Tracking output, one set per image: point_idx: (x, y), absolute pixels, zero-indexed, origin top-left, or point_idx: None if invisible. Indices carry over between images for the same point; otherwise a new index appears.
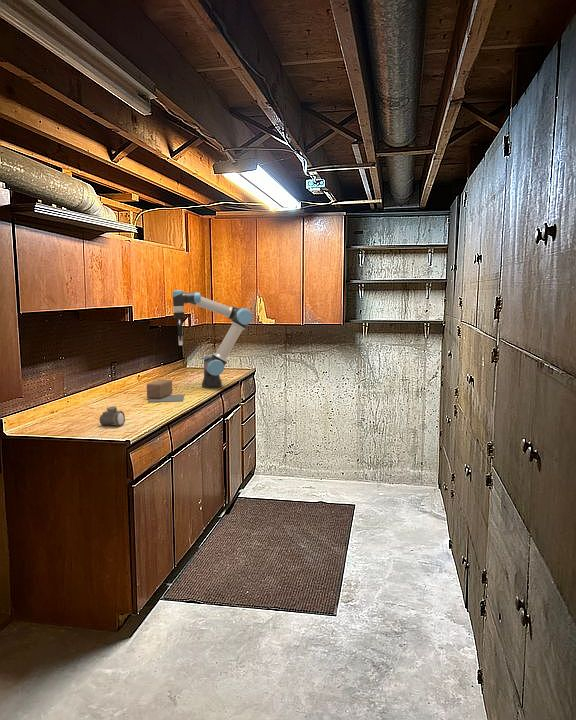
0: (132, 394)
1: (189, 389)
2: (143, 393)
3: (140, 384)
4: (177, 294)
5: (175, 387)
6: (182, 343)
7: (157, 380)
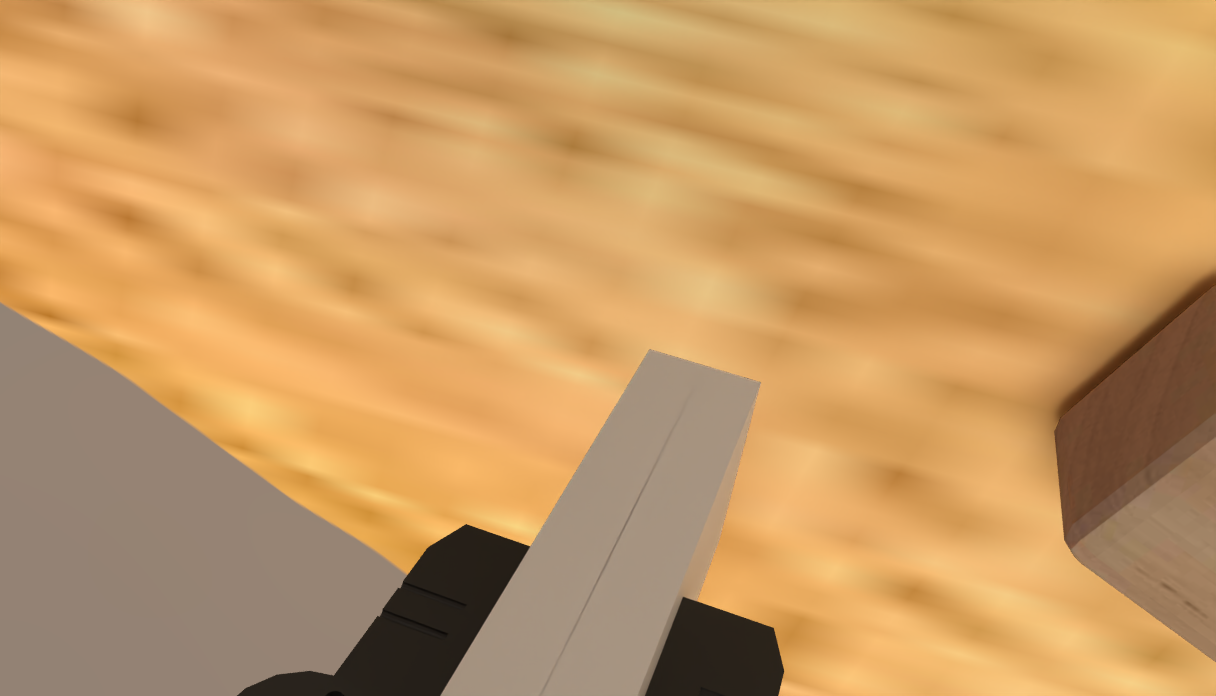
0: (861, 666)
1: None
2: (850, 553)
3: (183, 395)
4: None
5: (512, 40)
6: (739, 440)
7: (1205, 624)
